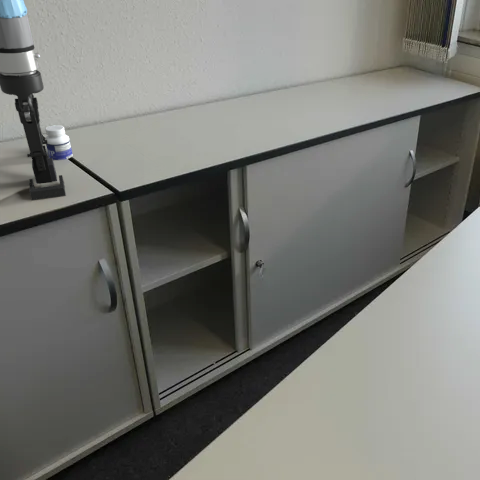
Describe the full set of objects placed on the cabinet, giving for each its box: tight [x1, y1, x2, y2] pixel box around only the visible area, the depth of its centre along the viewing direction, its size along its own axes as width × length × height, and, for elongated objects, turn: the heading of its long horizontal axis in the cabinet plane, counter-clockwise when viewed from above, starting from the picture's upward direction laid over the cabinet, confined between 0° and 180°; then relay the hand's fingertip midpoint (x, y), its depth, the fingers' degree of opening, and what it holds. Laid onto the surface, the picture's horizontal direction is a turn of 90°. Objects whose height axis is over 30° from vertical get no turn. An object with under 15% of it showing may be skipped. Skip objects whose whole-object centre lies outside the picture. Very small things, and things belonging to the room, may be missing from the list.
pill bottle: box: [44, 124, 74, 161], centre depth 132 cm, size 5×5×9 cm
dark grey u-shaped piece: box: [28, 174, 67, 201], centre depth 120 cm, size 7×7×2 cm
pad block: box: [31, 157, 58, 185], centre depth 119 cm, size 4×4×4 cm
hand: (44, 177), depth 120 cm, fingers closed on pad block, 4 cm apart
